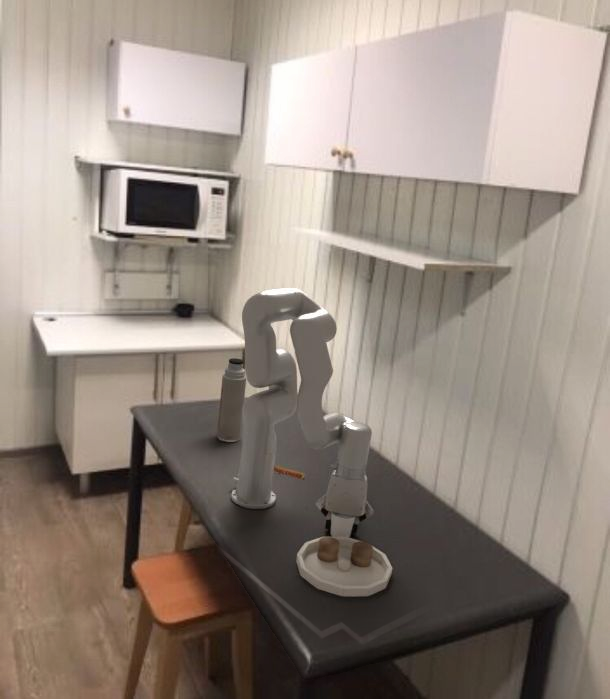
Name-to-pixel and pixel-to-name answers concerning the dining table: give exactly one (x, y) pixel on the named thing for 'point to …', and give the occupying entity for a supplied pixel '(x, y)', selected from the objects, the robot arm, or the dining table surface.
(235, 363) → the thermos bottle
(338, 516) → the white rimmed cylinder
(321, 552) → the bead
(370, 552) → the bead
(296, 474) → the chocolate bar
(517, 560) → the dining table surface
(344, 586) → the tray
